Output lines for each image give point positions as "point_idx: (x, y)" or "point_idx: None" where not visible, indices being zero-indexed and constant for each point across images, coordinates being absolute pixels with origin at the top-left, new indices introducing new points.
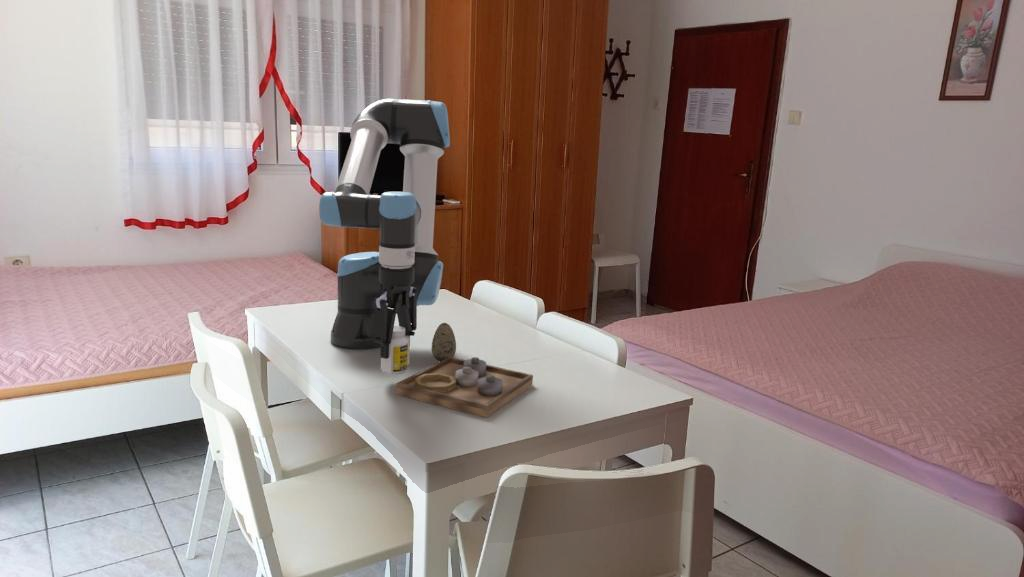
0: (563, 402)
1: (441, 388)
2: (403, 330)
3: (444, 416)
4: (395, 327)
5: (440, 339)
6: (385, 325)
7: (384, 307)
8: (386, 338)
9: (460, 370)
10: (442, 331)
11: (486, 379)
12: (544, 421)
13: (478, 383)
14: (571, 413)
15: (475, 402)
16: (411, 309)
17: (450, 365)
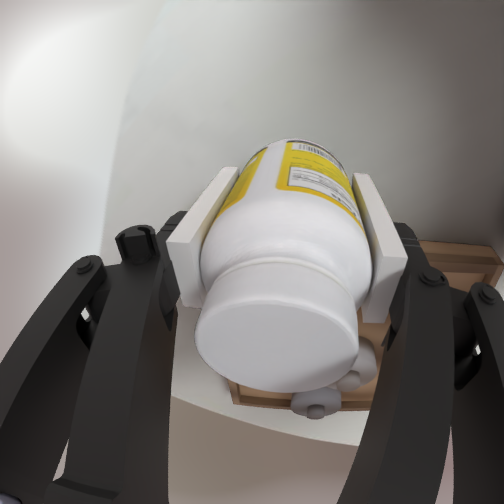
0: (350, 421)
1: None
2: (274, 390)
3: (193, 348)
4: (304, 343)
5: None
6: (72, 403)
7: (18, 498)
8: (225, 252)
9: (356, 364)
10: None
11: (310, 408)
12: (274, 420)
13: (301, 395)
14: (316, 428)
15: (232, 394)
16: (466, 478)
17: (464, 277)
